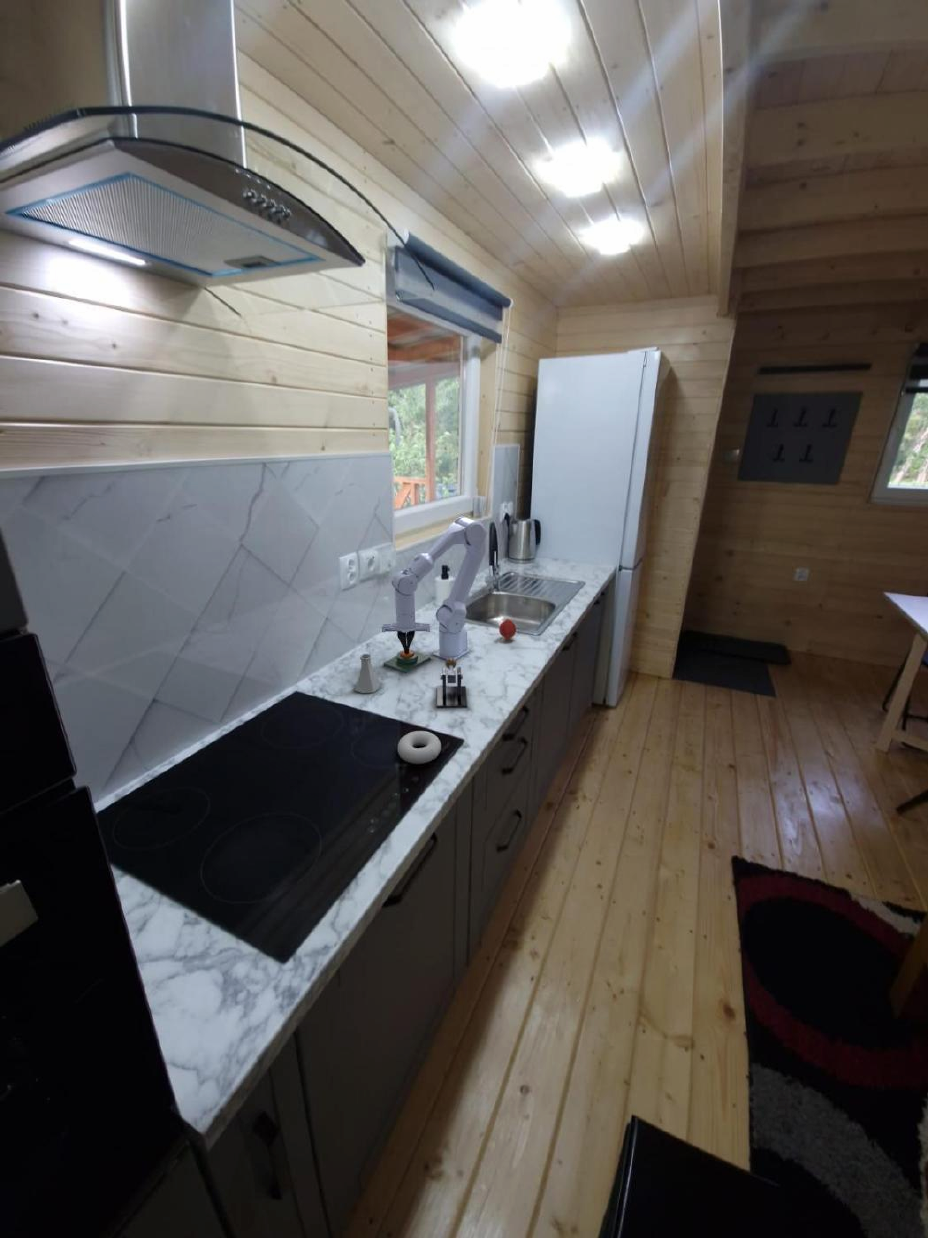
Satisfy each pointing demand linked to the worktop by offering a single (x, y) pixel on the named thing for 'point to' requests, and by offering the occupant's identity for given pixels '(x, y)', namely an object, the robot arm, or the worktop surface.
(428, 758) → the donut
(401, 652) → the button
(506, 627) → the onion
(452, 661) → the lever
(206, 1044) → the worktop surface
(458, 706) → the bracket
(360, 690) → the flask
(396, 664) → the control block
